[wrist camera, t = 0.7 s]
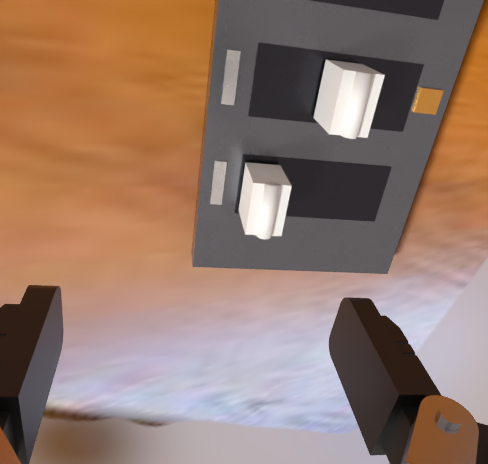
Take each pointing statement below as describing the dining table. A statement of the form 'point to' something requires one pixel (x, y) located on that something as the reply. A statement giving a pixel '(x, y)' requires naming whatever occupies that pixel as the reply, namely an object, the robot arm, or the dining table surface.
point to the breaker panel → (314, 135)
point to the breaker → (264, 200)
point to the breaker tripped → (347, 98)
